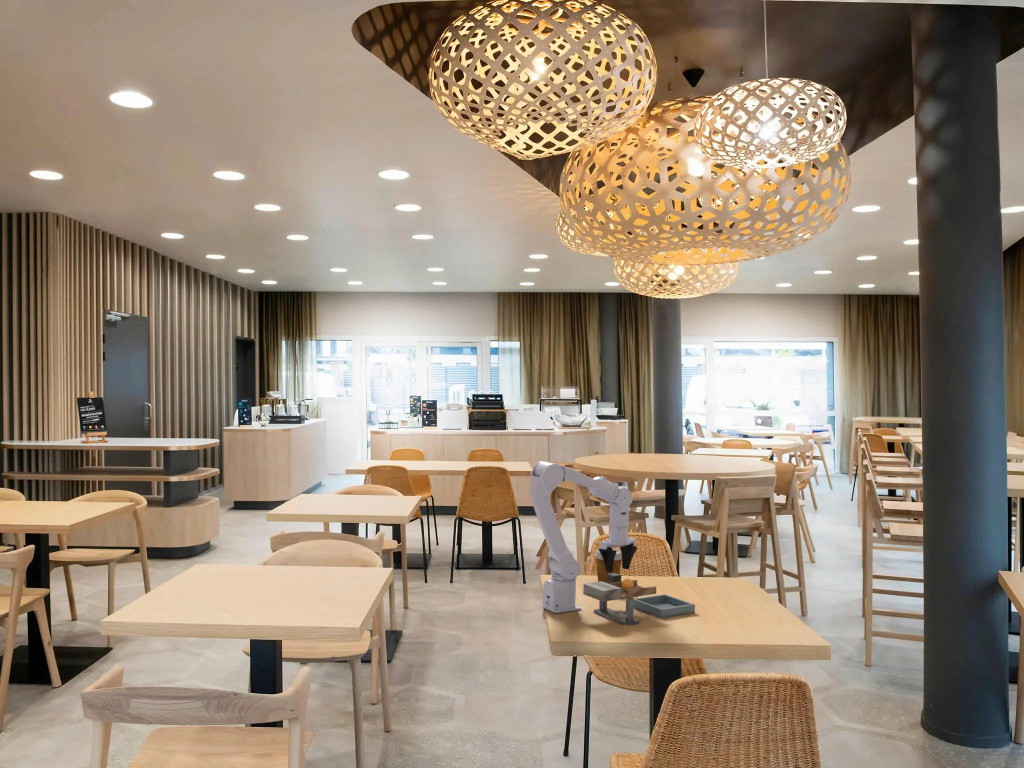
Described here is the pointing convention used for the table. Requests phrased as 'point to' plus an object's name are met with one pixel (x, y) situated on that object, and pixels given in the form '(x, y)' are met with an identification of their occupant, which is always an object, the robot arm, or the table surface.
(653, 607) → the tray
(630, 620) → the chute stand
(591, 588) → the chute
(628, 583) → the ball
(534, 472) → the robot arm
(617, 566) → the disposable coffee cup
